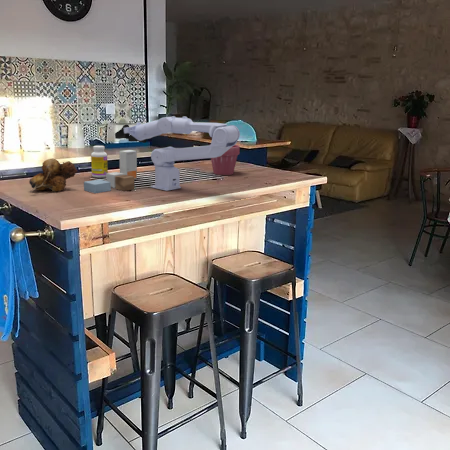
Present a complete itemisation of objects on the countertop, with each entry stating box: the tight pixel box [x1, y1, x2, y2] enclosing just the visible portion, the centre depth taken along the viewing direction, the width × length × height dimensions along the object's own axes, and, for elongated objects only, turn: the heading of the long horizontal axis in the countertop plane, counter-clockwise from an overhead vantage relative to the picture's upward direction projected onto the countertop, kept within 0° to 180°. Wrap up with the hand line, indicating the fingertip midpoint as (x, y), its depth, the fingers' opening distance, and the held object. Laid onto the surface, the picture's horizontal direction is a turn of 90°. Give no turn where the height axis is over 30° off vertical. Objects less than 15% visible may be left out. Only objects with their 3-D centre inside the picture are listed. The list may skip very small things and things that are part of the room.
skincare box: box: [118, 149, 138, 180], centre depth 208 cm, size 6×4×12 cm
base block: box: [83, 179, 112, 194], centre depth 187 cm, size 7×7×4 cm
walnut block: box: [115, 175, 135, 192], centre depth 191 cm, size 5×5×5 cm
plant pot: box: [210, 144, 241, 176], centre depth 227 cm, size 14×14×13 cm
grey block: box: [105, 171, 125, 189], centre depth 196 cm, size 5×5×5 cm
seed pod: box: [29, 157, 78, 193], centre depth 185 cm, size 13×16×15 cm
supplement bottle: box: [90, 145, 109, 179], centre depth 212 cm, size 7×7×13 cm
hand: (122, 137), depth 200 cm, fingers open, 7 cm apart
